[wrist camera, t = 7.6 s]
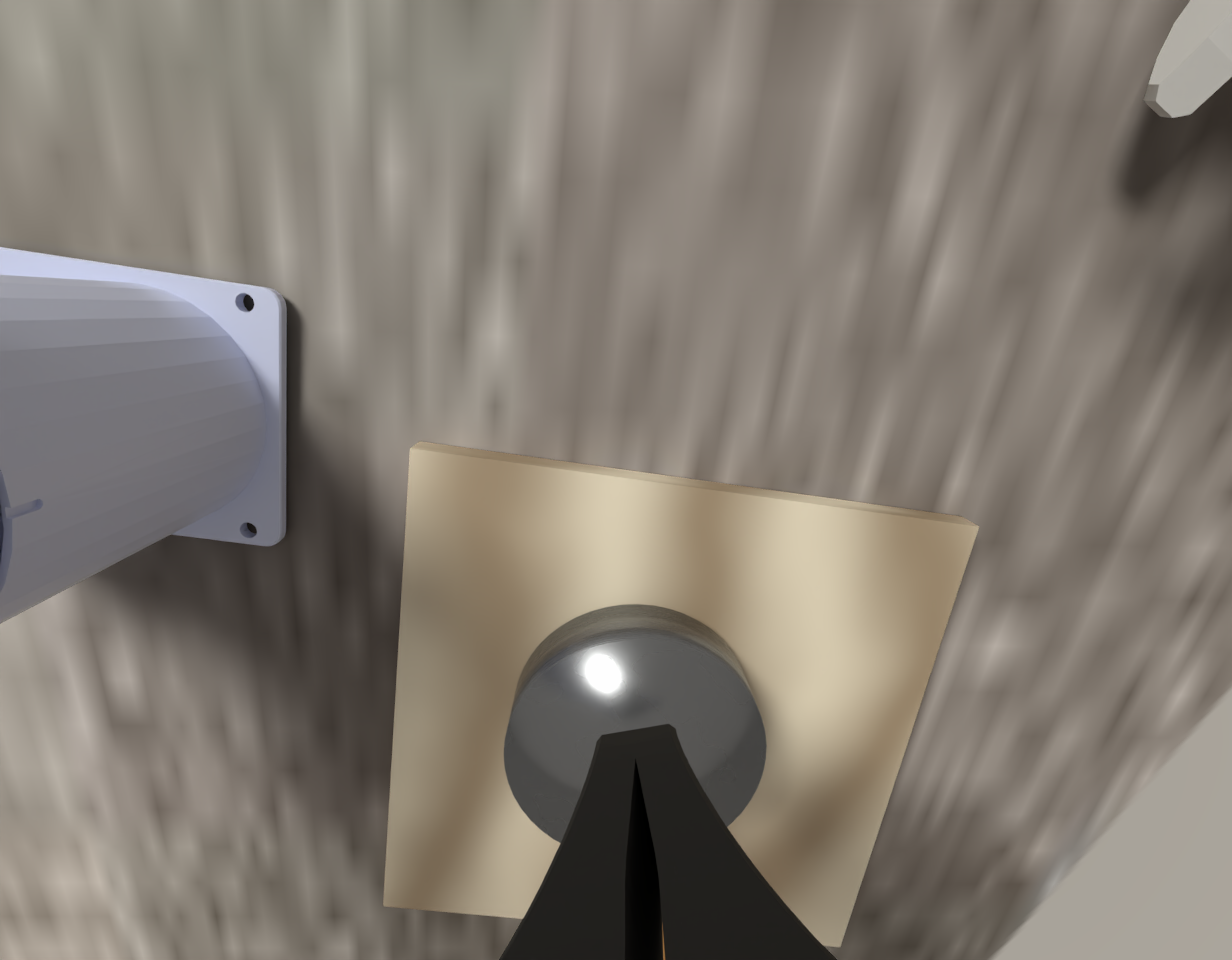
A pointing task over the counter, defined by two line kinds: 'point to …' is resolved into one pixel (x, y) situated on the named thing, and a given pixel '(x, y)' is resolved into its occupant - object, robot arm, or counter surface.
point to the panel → (675, 579)
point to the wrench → (1192, 59)
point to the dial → (630, 708)
